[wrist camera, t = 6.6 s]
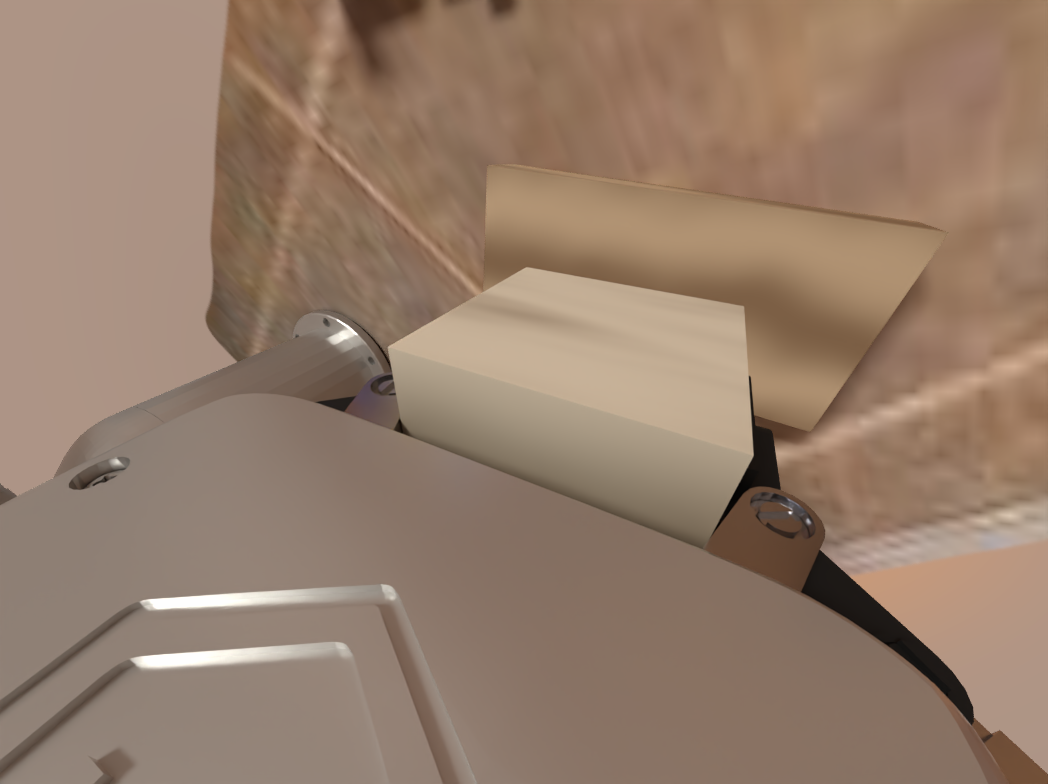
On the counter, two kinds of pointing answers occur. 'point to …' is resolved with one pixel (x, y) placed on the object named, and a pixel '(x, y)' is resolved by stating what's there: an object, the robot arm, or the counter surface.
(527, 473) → the birch cube
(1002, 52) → the counter surface
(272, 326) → the counter surface
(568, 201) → the oak slab
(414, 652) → the robot arm
